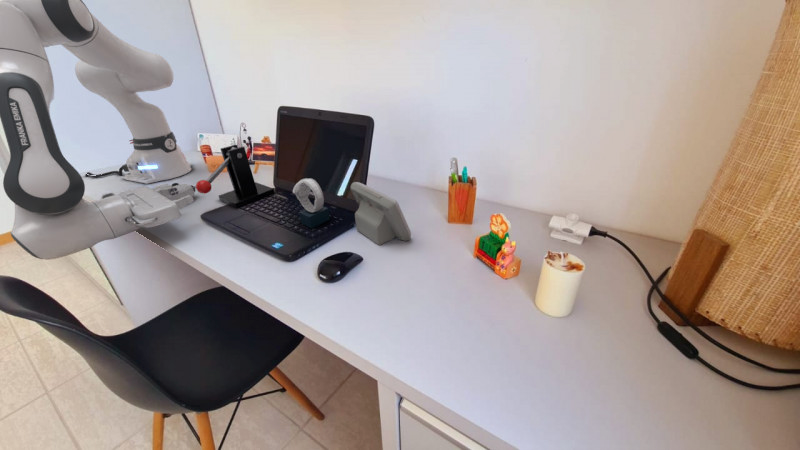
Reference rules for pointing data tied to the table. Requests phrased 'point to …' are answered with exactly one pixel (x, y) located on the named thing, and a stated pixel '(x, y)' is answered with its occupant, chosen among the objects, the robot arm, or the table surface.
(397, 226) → the digital clock
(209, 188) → the switch lever
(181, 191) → the robot toy
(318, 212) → the ring sculpture on base
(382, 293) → the table surface
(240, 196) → the switch bracket
